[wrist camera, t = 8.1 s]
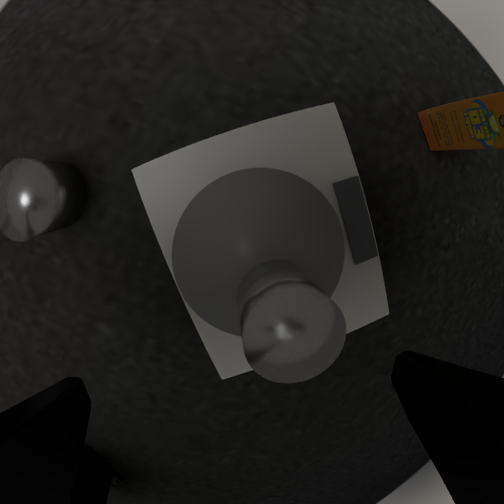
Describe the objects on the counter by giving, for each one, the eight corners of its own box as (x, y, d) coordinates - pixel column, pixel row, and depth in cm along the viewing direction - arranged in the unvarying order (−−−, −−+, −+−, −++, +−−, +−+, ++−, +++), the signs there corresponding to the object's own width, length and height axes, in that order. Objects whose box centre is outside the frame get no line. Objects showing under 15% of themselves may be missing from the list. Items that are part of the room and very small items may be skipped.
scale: (376, 303, 20) (393, 317, 18) (221, 363, 20) (222, 384, 18) (323, 110, 17) (337, 100, 15) (140, 171, 17) (128, 169, 14)
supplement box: (412, 112, 18) (516, 85, 8) (441, 105, 18) (537, 84, 8) (427, 154, 18) (534, 149, 9) (454, 144, 18) (553, 139, 9)
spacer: (300, 248, 16) (333, 274, 11) (320, 316, 17) (353, 360, 12) (224, 276, 16) (226, 314, 11) (251, 342, 17) (262, 396, 12)
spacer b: (96, 212, 17) (58, 222, 12) (48, 237, 17) (6, 253, 12) (76, 151, 16) (35, 143, 11) (29, 179, 16) (-15, 181, 11)
